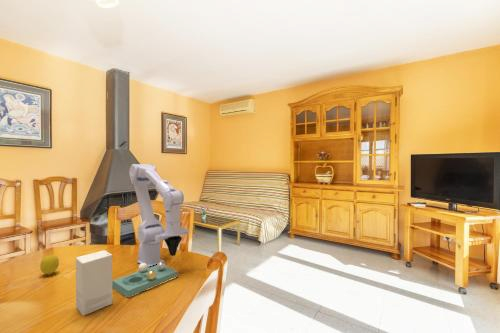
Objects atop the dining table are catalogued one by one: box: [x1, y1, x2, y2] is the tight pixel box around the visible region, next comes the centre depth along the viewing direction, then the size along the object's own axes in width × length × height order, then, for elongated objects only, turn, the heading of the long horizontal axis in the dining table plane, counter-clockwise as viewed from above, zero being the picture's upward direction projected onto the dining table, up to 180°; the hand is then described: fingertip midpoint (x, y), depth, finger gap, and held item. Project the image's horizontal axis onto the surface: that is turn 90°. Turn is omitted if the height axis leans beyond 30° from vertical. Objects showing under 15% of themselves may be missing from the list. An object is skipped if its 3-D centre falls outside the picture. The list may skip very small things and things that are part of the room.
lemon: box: [39, 253, 60, 275], centre depth 95 cm, size 6×6×8 cm
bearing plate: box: [112, 265, 179, 298], centre depth 90 cm, size 19×11×2 cm, turn 143°
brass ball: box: [146, 270, 156, 280], centre depth 87 cm, size 3×3×3 cm
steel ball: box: [157, 261, 167, 271], centre depth 95 cm, size 3×3×3 cm
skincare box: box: [75, 249, 113, 317], centre depth 75 cm, size 8×7×16 cm
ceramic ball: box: [138, 263, 149, 272], centre depth 94 cm, size 3×3×3 cm
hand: (172, 255), depth 99 cm, fingers closed
